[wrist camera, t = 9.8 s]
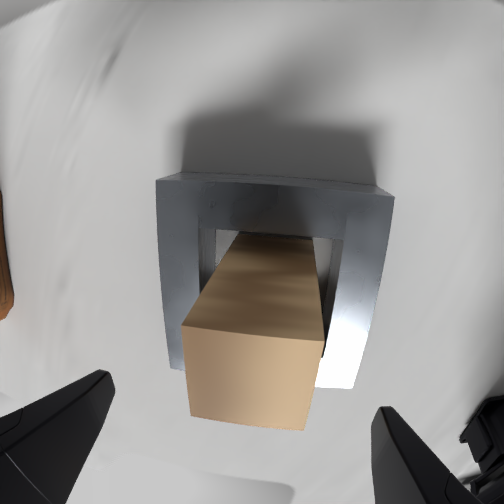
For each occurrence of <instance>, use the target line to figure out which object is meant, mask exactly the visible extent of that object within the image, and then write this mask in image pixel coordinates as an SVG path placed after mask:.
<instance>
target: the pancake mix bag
mask: <svg viewBox="0 0 504 504" xmlns="http://www.w3.org/2000/svg"><path fill="white" fill-rule="evenodd" d="M13 303H14V292H13V288H12V283H11V277H10V272H9V266H8V259H7V253H6V246H5V239H4V230H3V215H2V195H1V192H0V321H1V320H3V319H5V318H6V316H7V314H8V312H9V311H10V309H11V308H12V307H13Z"/></svg>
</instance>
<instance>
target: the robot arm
mask: <svg viewBox="0 0 504 504" xmlns="http://www.w3.org/2000/svg"><path fill="white" fill-rule="evenodd" d="M114 395H115V386H114V383H113V380H112V376H111V374H110V373H109V372H108V371H104V370H101V369H99V370H97V371H95V372H93V373H91V374H89V375H87V376H85V377H83V378H81V379H79V380H77V381H75V382H73V383H71V384H69V385H67V386H65V387H63V388H61V389H59V390H57V391H55V392H53V393H51V394H49V395H47V396H45V397H43V398H41V399H39V400H37V401H35V402H33V403H31V404H29V405H27V406H25V407H24V408H21V409H19V410H16V411H14V412H12V413H10V414H8V415H5V416H3V417H0V504H65V503H66V501H67V499H68V497H69V495H70V493H71V491H72V488H73V486H74V484H75V482H76V480H77V478H78V476H79V474H80V472H81V469H82V467H83V465H84V463H85V461H86V459H87V457H88V455H89V453H90V451H91V449H92V447H93V445H94V443H95V441H96V439H97V437H98V435H99V433H100V431H101V429H102V427H103V424H104V422H105V419H106V416H107V413H108V411H109V408H110V405H111V403H112V400H113V397H114ZM459 441H460V443H467V442H468V445H469V447H470V450H471V453H472V455H473V458H474V461H475V462H476V463H478V464H479V467H480V470H481V473H482V475H481V476H479V477H478V478H476V479H474V480H472V481H471V482H470V485H471V492H470V491H469V490H467V489H466V488H465V487H464V486H463V485H462V483H461V482H460V481H459V480H458V479H457V478H456V477H455V476H454V475H453V474H452V473H450V471H449V469H448V468H447V467H446V466H445V465H444V464H443V463H442V462H441V461H440V459H439V458H438V457H437V456H436V455H435V454H434V453H433V452H432V451H431V449H430V448H429V447H428V446H427V445H426V444H425V443H424V442H423V441H422V439H421V438H420V437H419V436H418V435H417V434H416V433H415V432H414V430H413V429H412V428H411V427H410V426H409V425H408V424H407V423H406V422H405V420H404V419H403V418H402V417H401V416H400V415H399V414H398V413H397V412H396V410H395V409H394V408H393V407H391V406H381V407H379V409H378V410H377V413H376V415H375V417H374V419H373V422H372V425H371V463H372V476H373V485H374V495H375V504H504V396H500V397H494V398H489V399H487V400H485V401H484V403H483V404H482V406H481V407H480V409H479V411H478V412H477V414H476V415H475V417H474V418H473V420H472V421H471V423H470V424H469V426H468V427H467V429H466V430H465V432H464V433H463V435H462V436H461V437H460V439H459Z"/></svg>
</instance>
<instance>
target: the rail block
mask: <svg viewBox="0 0 504 504" xmlns="http://www.w3.org/2000/svg"><path fill="white" fill-rule="evenodd" d="M394 199H395V197H394V196H393V195H391V194H389V193H388V192H386V191H384V190H383V189H381V188H379V187H377V186H372V185H363V184H355V183H346V182H336V181H326V180H316V179H304V178H292V177H278V176H263V175H245V174H222V173H185V172H180V173H177V174H173V175H170V176H167V177H164V178H160V179H157V180H156V212H157V235H158V252H159V267H160V280H161V291H162V302H163V312H164V321H165V330H166V338H167V346H168V354H169V361H170V368H172V369H177V370H183V371H185V363H184V353H183V343H182V332H181V324H182V323H183V321H184V320H185V318H186V316H187V315H188V313H189V311H190V310H191V308H192V307H193V305H194V303H195V302H196V300H197V298H198V297H199V295H200V294H201V292H202V290H203V289H204V287H205V286H206V284H207V282H208V281H209V279H210V278H211V276H212V274H213V273H214V271H215V229H221V230H235V231H248V232H260V233H273V234H285V235H297V236H309V237H320V238H331V239H334V240H333V248H332V256H331V263H330V270H329V277H328V284H327V291H326V297H325V303H324V309H323V315H322V320H323V330H324V340H325V342H324V347H323V352H322V357H321V361H320V366H319V371H318V375H317V380H316V384H315V387H330V388H352V387H353V383H354V380H355V377H356V374H357V371H358V367H359V364H360V361H361V357H362V354H363V350H364V347H365V343H366V339H367V336H368V332H369V328H370V324H371V320H372V316H373V312H374V308H375V304H376V299H377V295H378V291H379V286H380V281H381V276H382V272H383V267H384V261H385V256H386V251H387V245H388V239H389V233H390V227H391V220H392V213H393V206H394Z"/></svg>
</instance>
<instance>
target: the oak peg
mask: <svg viewBox="0 0 504 504" xmlns="http://www.w3.org/2000/svg"><path fill="white" fill-rule="evenodd" d="M181 332H182V343H183V353H184V363H185V372H186V381H187V390H188V398H189V405H190V413H191V416H194V417H199V418H205V419H210V420H216V421H222V422H228V423H235V424H242V425H249V426H257V427H266V428H276V429H287V430H301V431H304V428H305V424H306V421H307V417H308V413H309V409H310V405H311V401H312V397H313V392H314V388H315V384H316V380H317V375H318V371H319V366H320V361H321V357H322V352H323V347H324V342H325V340H324V330H323V320H322V311H321V302H320V293H319V285H318V277H317V269H316V261H315V254H314V246H313V240H305V239H294V238H282V237H270V236H258V235H246V234H238V235H237V236H236V238H235V240H234V241H233V243H232V244H231V246H230V247H229V249H228V251H227V252H226V254H225V255H224V257H223V258H222V260H221V262H220V263H219V265H218V266H217V268H216V270H215V271H214V273H213V274H212V276H211V278H210V279H209V281H208V282H207V284H206V286H205V287H204V289H203V290H202V292H201V294H200V295H199V297H198V298H197V300H196V302H195V303H194V305H193V307H192V308H191V310H190V311H189V313H188V315H187V316H186V318H185V320H184V321H183V323H182V324H181Z"/></svg>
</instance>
